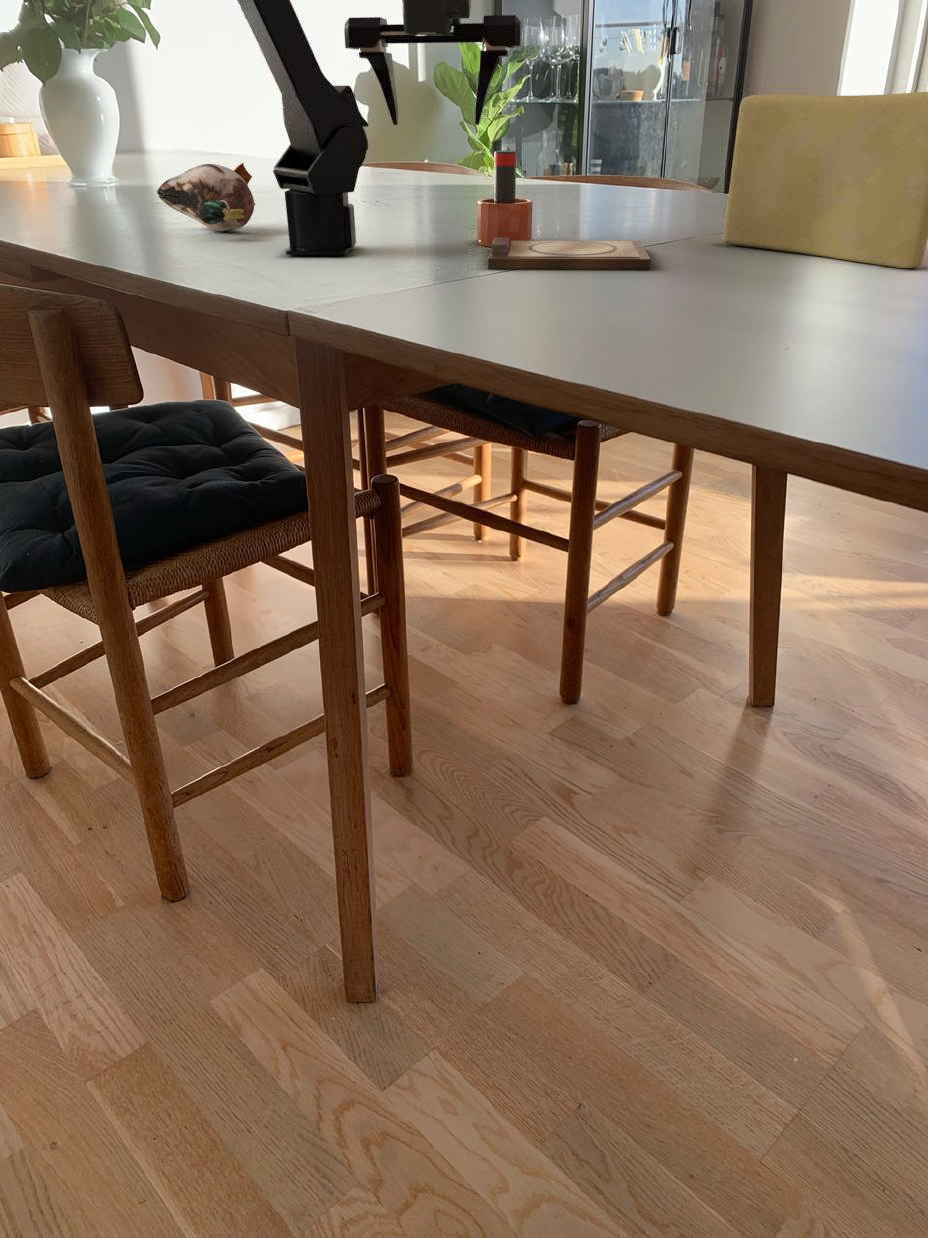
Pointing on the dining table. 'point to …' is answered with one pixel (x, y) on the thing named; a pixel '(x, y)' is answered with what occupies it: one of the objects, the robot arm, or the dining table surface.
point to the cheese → (832, 176)
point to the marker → (505, 176)
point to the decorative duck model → (211, 196)
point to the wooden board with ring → (568, 255)
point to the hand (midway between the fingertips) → (436, 124)
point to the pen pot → (504, 220)
